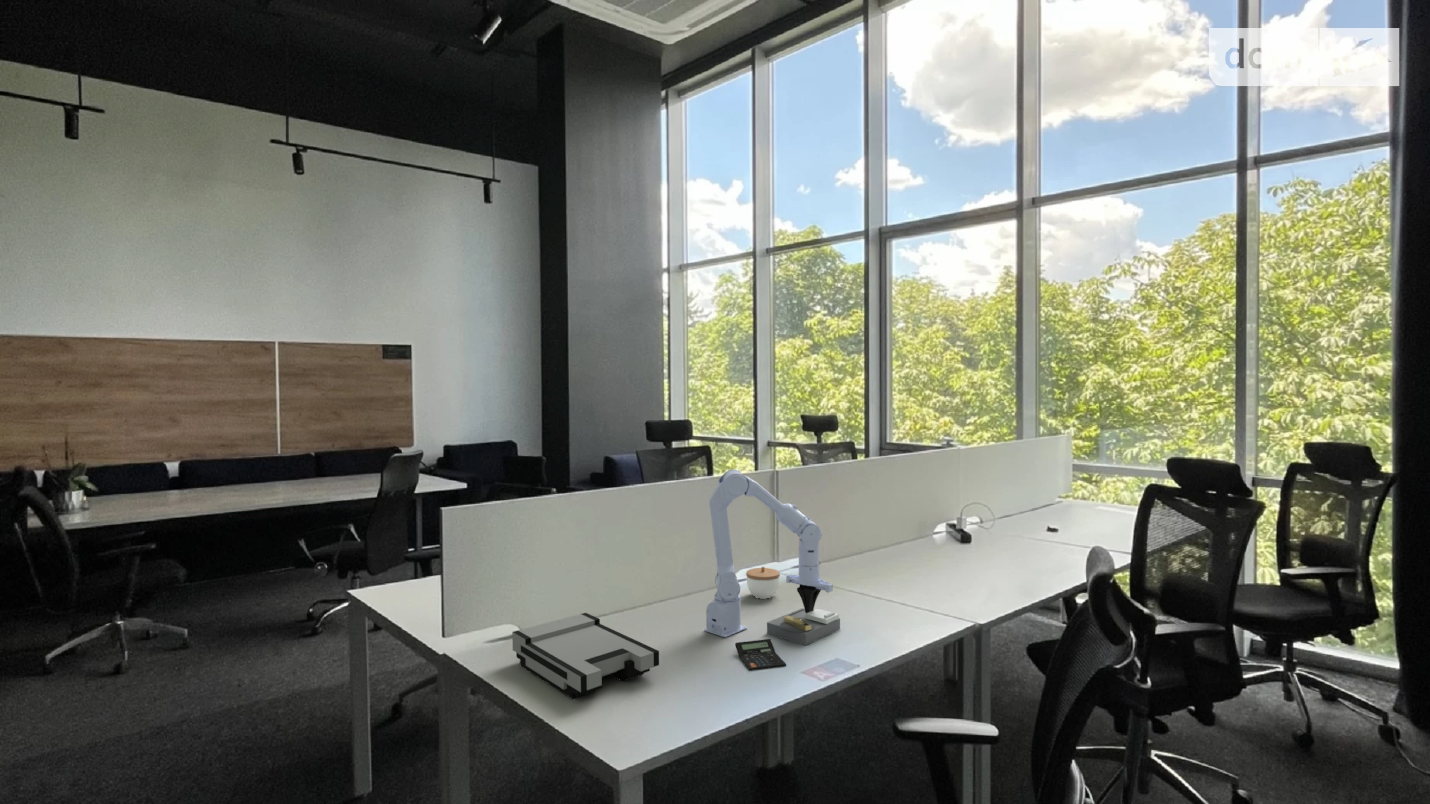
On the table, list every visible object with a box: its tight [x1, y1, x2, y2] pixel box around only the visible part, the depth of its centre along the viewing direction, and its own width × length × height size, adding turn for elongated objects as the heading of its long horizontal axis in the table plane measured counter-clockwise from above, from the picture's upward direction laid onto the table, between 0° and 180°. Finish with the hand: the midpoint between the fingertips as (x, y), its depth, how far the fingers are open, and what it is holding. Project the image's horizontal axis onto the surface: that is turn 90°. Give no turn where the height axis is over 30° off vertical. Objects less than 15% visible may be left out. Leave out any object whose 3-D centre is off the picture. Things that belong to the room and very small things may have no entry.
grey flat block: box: [766, 607, 841, 646], centre depth 191 cm, size 18×13×3 cm
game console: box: [511, 612, 660, 700], centre depth 166 cm, size 21×32×8 cm, turn 42°
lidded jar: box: [745, 566, 781, 600], centre depth 224 cm, size 11×11×9 cm
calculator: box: [734, 638, 787, 672], centre depth 173 cm, size 9×12×3 cm
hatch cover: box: [805, 608, 840, 624], centre depth 192 cm, size 6×7×2 cm
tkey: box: [784, 616, 811, 631], centre depth 187 cm, size 9×2×2 cm, turn 34°
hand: (809, 612), depth 195 cm, fingers closed
